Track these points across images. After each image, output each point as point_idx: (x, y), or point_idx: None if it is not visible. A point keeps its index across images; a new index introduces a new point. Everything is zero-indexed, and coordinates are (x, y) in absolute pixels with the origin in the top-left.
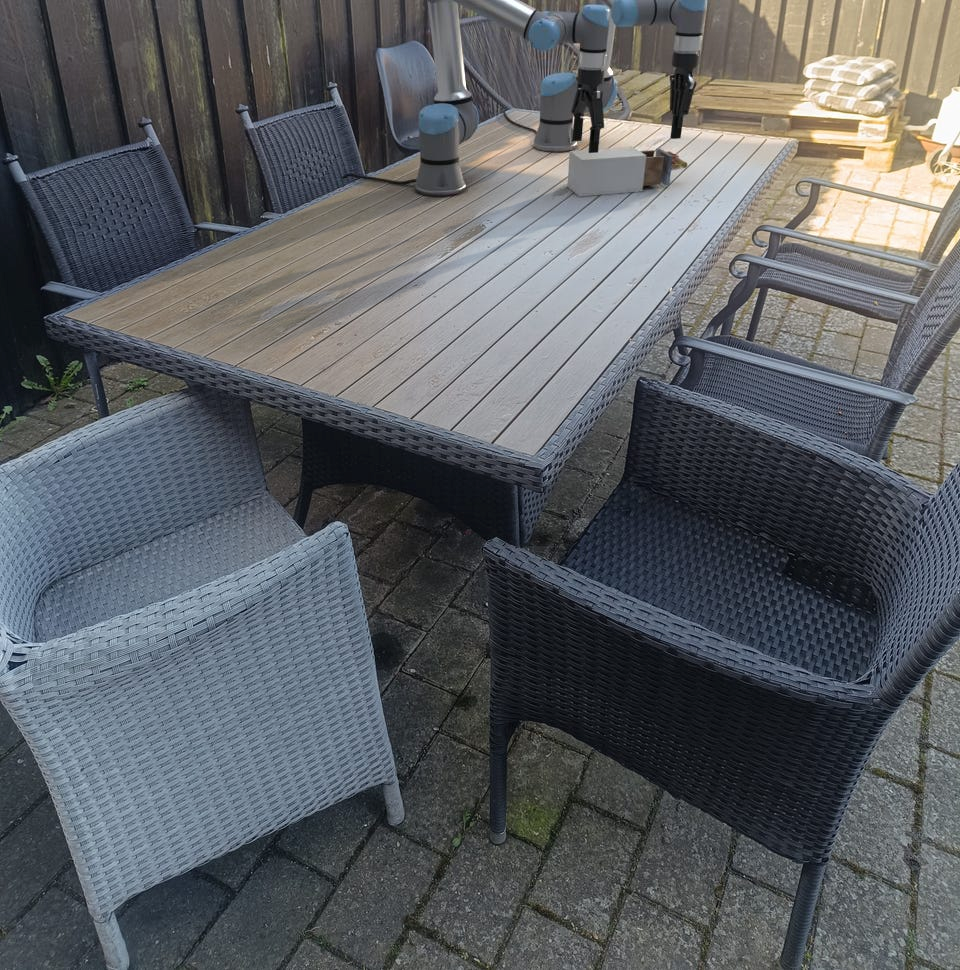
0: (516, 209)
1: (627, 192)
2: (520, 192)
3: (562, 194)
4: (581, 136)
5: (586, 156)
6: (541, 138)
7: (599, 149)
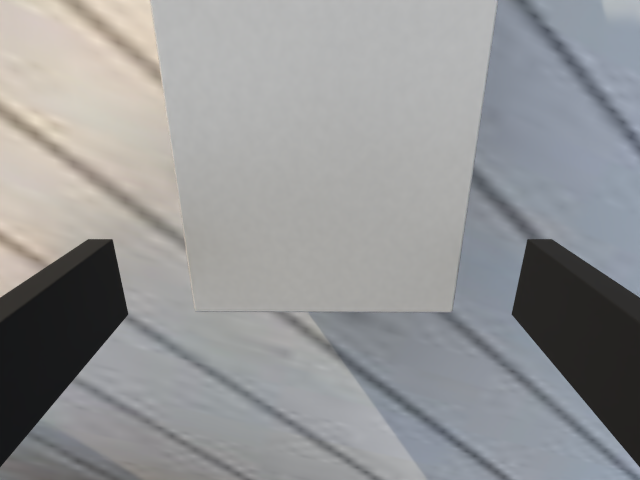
0: (458, 459)
1: None
2: (278, 406)
3: None
4: (91, 261)
5: (372, 251)
6: None
7: (177, 56)
